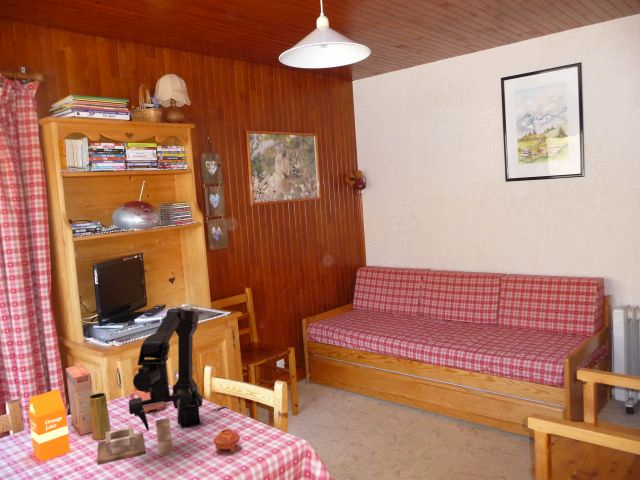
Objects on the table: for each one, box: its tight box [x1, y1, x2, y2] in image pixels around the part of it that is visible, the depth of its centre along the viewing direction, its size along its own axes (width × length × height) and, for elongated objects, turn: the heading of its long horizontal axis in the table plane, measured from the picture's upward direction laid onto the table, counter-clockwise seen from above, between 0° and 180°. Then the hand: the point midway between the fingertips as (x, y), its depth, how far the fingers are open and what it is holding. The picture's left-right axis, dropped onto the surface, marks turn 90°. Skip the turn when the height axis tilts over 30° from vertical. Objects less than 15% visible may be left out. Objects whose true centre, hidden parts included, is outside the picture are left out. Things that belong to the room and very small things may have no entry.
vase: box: [89, 392, 112, 441], centre depth 186 cm, size 6×6×14 cm
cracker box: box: [65, 364, 93, 436], centre depth 194 cm, size 14×6×21 cm, turn 35°
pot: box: [213, 428, 241, 453], centre depth 171 cm, size 8×8×7 cm
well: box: [96, 426, 146, 465], centre depth 176 cm, size 14×14×5 cm
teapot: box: [129, 390, 166, 414], centre depth 207 cm, size 12×12×10 cm
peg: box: [155, 417, 174, 457], centre depth 172 cm, size 4×4×10 cm
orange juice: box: [27, 388, 71, 462], centre depth 176 cm, size 8×9×20 cm
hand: (163, 427), depth 171 cm, fingers open, 9 cm apart
